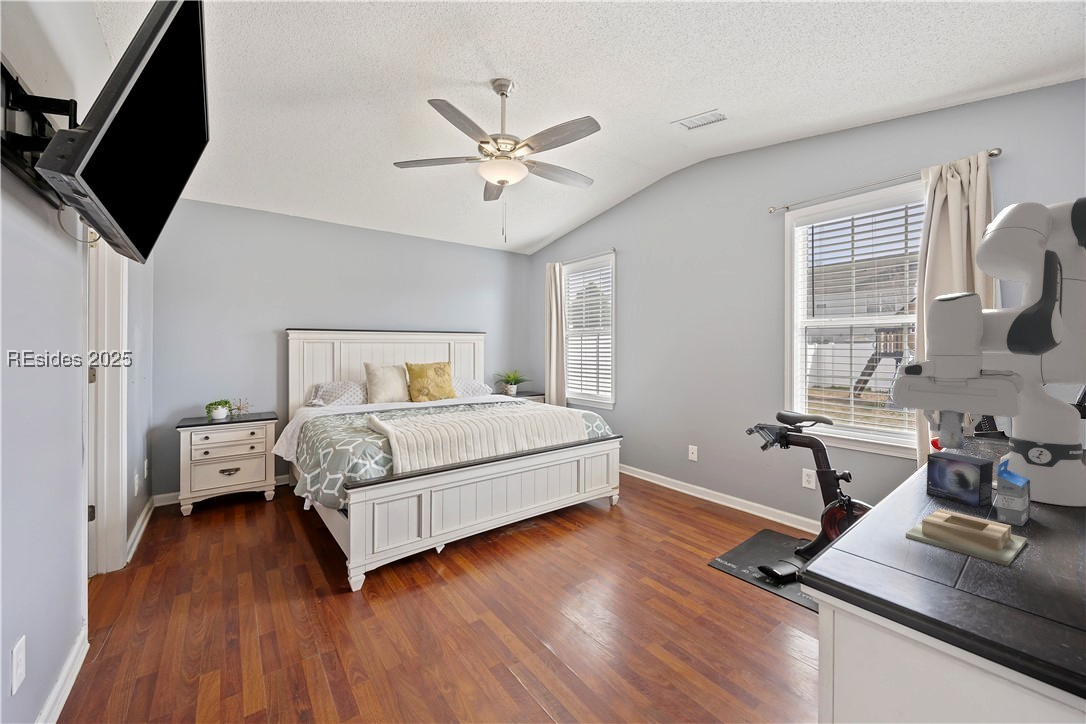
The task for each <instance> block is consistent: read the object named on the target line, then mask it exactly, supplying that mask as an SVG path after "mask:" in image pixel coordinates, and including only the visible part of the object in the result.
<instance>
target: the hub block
mask: <svg viewBox="0 0 1086 724" xmlns="http://www.w3.org/2000/svg"><path fill="white" fill-rule="evenodd" d="M905 538H909V539H912V540H915V541H918V542H922V543H926V544H928V545H929V544H930V545H932V546H936V547H940V548H944V549H946V550H950V551H953V552H957V553H960V554H964V555H967V556H971V557H974V558H977V559H981V560H985V561H988V562H992V563H995V564H999V565H1003V566H1006V567H1009V565H1010V564H1011V563H1012V561H1013V560H1014V559H1015V558H1016V556H1017V555H1019V553H1020V551H1021V550H1022V549H1023V548H1024V546H1025V545H1026V544H1027V543H1028V538H1027V537H1025V536H1019V535H1016V534H1012V524H1007V523H1003V522H999V521H998V522H997V521H993V520H989V519H984V518H980V517H976V516H971V515H967V514H963V513H958V512H955V511H950V510H945V509H942V508H939V509H936V511H934V512H932V513H931V514H929V515H928V516H926V517H925V518H923V519H922V520H921V522H920V523H918V524H917V525H916V526H914V527H912V528H911V529H909V530H908V531H906V532H905Z"/></svg>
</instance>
